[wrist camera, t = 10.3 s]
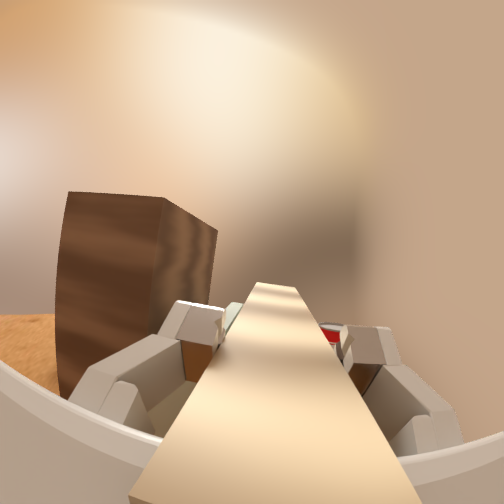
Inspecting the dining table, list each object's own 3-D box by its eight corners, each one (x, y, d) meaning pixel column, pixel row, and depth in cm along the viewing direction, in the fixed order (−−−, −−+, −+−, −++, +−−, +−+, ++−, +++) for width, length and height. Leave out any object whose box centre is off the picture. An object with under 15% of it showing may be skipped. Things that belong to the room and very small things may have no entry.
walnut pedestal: (154, 524, 14) (164, 197, 14) (84, 495, 14) (68, 191, 15) (194, 438, 30) (217, 230, 30) (144, 424, 30) (158, 223, 31)
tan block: (336, 593, 2) (425, 510, 2) (154, 578, 2) (127, 494, 2) (289, 324, 26) (295, 287, 26) (251, 319, 26) (256, 282, 26)
